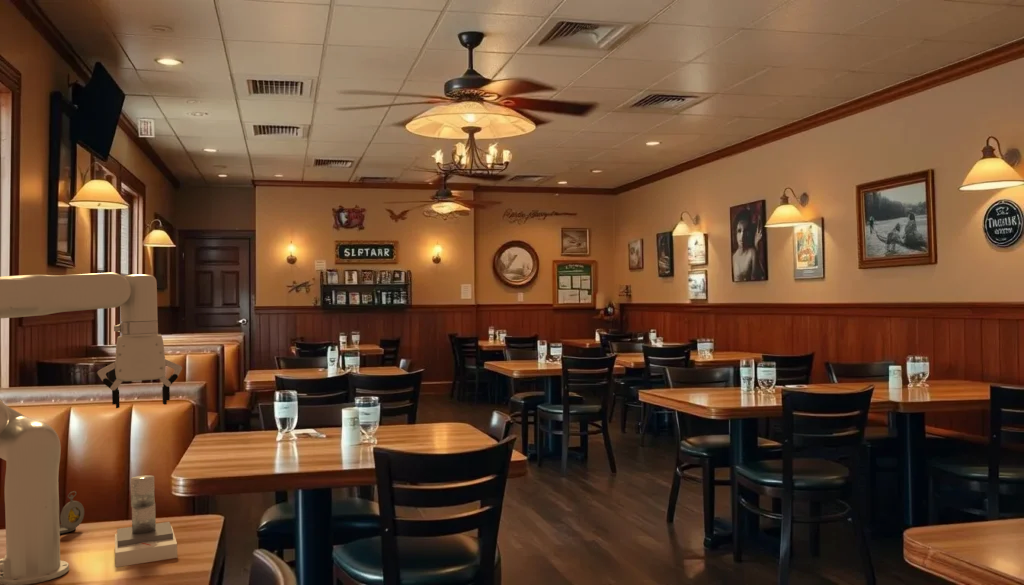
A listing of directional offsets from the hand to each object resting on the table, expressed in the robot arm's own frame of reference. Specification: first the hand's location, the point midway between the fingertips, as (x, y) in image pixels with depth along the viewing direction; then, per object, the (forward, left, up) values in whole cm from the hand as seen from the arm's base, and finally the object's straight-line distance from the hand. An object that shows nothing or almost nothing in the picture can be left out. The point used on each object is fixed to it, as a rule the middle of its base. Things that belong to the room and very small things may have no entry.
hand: (141, 405), depth 182 cm
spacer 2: (0, 0, -28) cm, 28 cm away
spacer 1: (0, 0, -22) cm, 22 cm away
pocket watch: (-17, +27, -32) cm, 46 cm away
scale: (0, -2, -32) cm, 32 cm away
